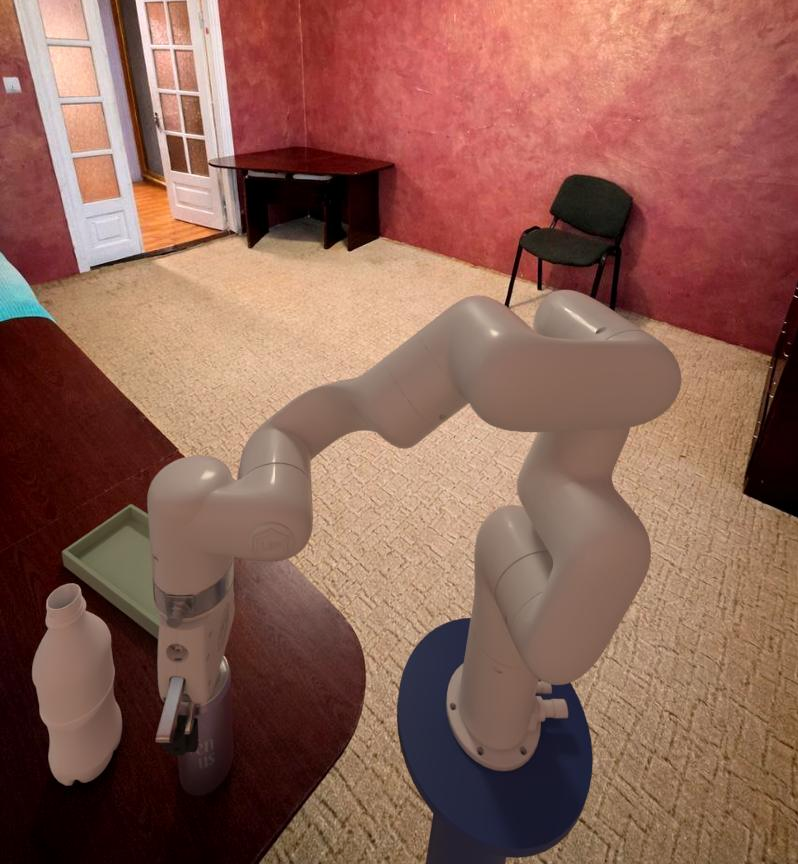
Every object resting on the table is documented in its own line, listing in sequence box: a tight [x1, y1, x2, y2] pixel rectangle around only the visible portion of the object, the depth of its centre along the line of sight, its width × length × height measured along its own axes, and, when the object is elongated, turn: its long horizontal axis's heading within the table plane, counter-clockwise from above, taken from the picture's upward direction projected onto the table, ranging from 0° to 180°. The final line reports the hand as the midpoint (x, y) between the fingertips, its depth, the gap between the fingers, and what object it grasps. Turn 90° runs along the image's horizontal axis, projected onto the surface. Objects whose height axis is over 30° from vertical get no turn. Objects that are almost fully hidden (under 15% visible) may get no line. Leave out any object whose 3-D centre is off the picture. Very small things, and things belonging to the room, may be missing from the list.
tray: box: [61, 503, 160, 640], centre depth 79 cm, size 25×12×3 cm, turn 62°
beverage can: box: [177, 655, 234, 797], centre depth 55 cm, size 6×6×15 cm
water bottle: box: [31, 583, 123, 787], centre depth 54 cm, size 7×7×25 cm
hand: (198, 693), depth 53 cm, fingers open, 9 cm apart
